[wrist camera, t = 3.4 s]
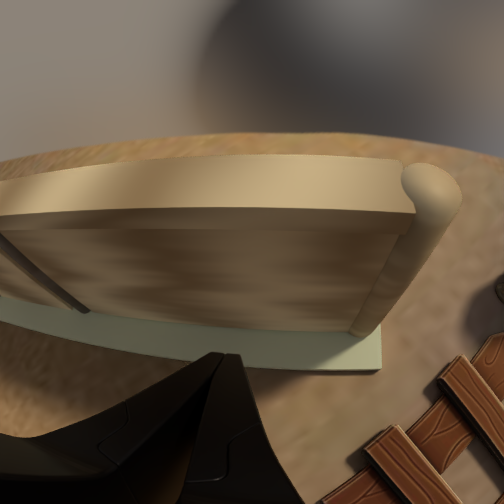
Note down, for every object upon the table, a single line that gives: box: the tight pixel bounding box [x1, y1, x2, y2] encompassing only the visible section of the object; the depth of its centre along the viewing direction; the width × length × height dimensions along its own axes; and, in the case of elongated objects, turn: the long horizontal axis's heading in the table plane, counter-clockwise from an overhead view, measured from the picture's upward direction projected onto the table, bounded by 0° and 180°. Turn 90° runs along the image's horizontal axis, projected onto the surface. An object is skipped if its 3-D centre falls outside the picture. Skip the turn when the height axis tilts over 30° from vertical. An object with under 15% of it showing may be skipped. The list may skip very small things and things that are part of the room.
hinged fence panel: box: [0, 154, 462, 338], centre depth 12 cm, size 16×2×10 cm, turn 84°
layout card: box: [0, 296, 382, 371], centre depth 20 cm, size 30×12×1 cm, turn 84°
